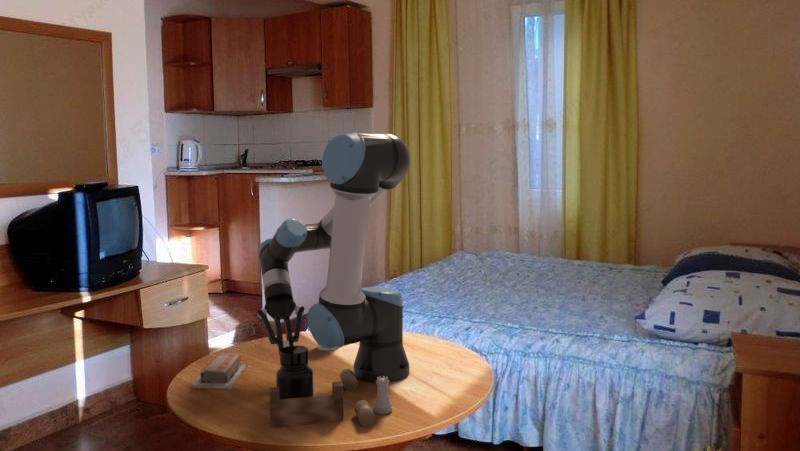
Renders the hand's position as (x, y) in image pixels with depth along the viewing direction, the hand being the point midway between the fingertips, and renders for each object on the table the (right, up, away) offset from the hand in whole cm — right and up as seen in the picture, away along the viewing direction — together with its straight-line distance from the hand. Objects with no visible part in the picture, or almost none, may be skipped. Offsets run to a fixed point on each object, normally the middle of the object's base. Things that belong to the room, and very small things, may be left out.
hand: (288, 365), depth 174 cm
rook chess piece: (+25, -7, -17) cm, 31 cm away
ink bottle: (+3, -6, -8) cm, 11 cm away
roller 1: (+16, -5, -1) cm, 16 cm away
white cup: (+7, -1, +33) cm, 33 cm away
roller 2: (+21, -8, -23) cm, 32 cm away
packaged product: (-19, -5, +7) cm, 21 cm away
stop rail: (+8, -8, -23) cm, 25 cm away
